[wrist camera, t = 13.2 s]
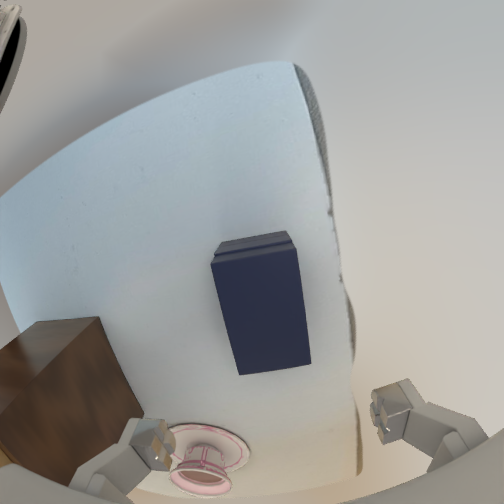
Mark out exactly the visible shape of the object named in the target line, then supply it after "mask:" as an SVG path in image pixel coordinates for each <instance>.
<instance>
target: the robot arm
mask: <svg viewBox="0 0 504 504" xmlns="http://www.w3.org/2000/svg"><path fill="white" fill-rule="evenodd" d="M21 11H22V7H21V6H19V5H16V4H13V5H9V6H6V7H4V8H3V9H0V61H1V58H2V55H3V53H4V50H5V47H6V45H7V42H8V40H9V38H10V35H11V33H12V31H13V28H14V26H15V24H16V22H17V20H18V18H19V16H20V13H21ZM371 398H372V400H373V402H372V403H371V405H370V414H371V419H372V422H373V424H374V426H376V427H378V432H377V434H378V436H379V438H380V441H381V443H382V445H384V444H387V443H390V442H393V441H396V440H399V439H402V438H403V440H404V441H406V442H407V443H409V444H411V445H412V446H414V447H416V448H417V449H419V450H420V451H422V452H424V453H425V454H427V455H429V456H431V457H432V458H433V460H432V462H431V464H430V466H429V467H428V469H427V473H426V474H424V475H422V476H420V477H417V478H415V479H412V480H410V481H408V482H405V483H403V484H400V485H397V486H395V487H392V488H389V489H386V490H384V491H381V492H377V493H374V494H371V495H368V496H365V497H361V498H358V499H354V500H350V501H346V502H342V503H338V504H504V428H503V429H502V430H501V431H499V432H498V433H496V434H495V435H493V436H492V437H490V438H488V436H487V435H486V433H485V432H484V431H483V429H482V428H481V426H480V425H479V424H478V422H477V421H476V420H475V419H474V418H471V417H468V416H466V415H463V414H460V413H457V412H454V411H451V410H449V409H446V408H443V407H441V406H438V405H435V404H433V403H430V402H428V403H425V401H424V400H423V399H422V397H421V396H420V394H419V393H418V391H417V390H416V388H415V387H414V385H413V384H412V383H411V381H410V380H409V379H404V380H401V381H399V382H396V383H393V384H390V385H387V386H384V387H381V388H378V389H374V390H372V393H371ZM167 427H168V424H167V422H166V421H165V420H162V419H145V418H131V419H129V421H128V423H127V425H126V427H125V429H124V431H123V433H122V435H121V438H120V440H119V442H118V444H113V445H112V446H110V447H109V448H107V449H106V450H104V451H103V452H101V453H100V454H98V455H97V456H95V457H94V458H92V459H91V460H89V461H88V462H86V463H84V464H83V465H81V466H80V467H78V469H77V471H76V472H75V474H74V476H73V478H72V480H71V482H70V484H69V486H68V487H67V486H64V485H62V484H59V483H57V482H54V481H52V480H49V479H47V478H45V477H43V476H40V475H38V474H36V473H34V472H32V471H30V470H28V469H26V468H24V467H22V466H20V465H18V464H15V463H11V464H8V465H5V466H3V467H0V504H134V503H133V502H132V501H131V500H130V499H129V498H128V497H126V495H127V494H128V493H129V492H130V491H131V490H133V489H134V488H135V487H136V486H137V485H138V484H139V483H140V482H141V481H142V480H143V479H144V478H145V477H146V476H147V475H148V474H149V473H150V472H151V470H156V471H170V467H171V464H172V460H173V459H172V458H171V456H170V455H171V454H173V453H174V452H175V448H176V439H175V436H174V434H173V432H172V431H170V430H169V429H167Z"/></svg>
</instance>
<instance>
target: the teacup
mask: <svg viewBox="0 0 504 504" xmlns="http://www.w3.org/2000/svg"><path fill="white" fill-rule="evenodd" d="M169 430H170V431H172V432H173V434H174V436H175V439H176V448H175V452H174V453H173V454H171V455H170V456H171V458H172V459H173V460H174V461H175V462H177V463H178V466H177V468H175V469H173V470H172V471H171V472H170V474H169V480H170V482H171V483H172V485H173V486H174V487H176V488H177V489H178V490H180V491H182V492H184V493H186V494H189V495H192V496H196V497H202V498H218V497H222V496H225V495H227V494H228V493H230V492H231V490H232V482H231V480H230V479H229V478H228V477H227V474H226V472H230V471H234V470H237V469H239V468H241V467H242V466H244V465H245V464H246V463H247V461H248V460H249V449H248V447H247V445H246V444H245V442H244V441H242V440H241V439H240V438H238V437H237V436H236V435H234V434H232V433H229V432H227V431H225V430H223V429H219V428H215V427H211V426H208V425H198V424H186V425H178V426H175V427H172V428H169Z"/></svg>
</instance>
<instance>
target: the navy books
mask: <svg viewBox="0 0 504 504" xmlns="http://www.w3.org/2000/svg"><path fill="white" fill-rule="evenodd" d="M289 242H292V240H291V238H290V236H289V235H288V233H287V231H280V232H275V233H269V234H264V235H258V236H253V237H248V238H242V239H237V240H232V241H226V242H221V244H220V245H219V247H218V249H217V250H216V252H215V254H214V255H215V256H217V255H223V254H228V253H234V252H239V251H245V250H250V249H256V248H261V247H267V246H272V245H278V244H283V243H289Z"/></svg>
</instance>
